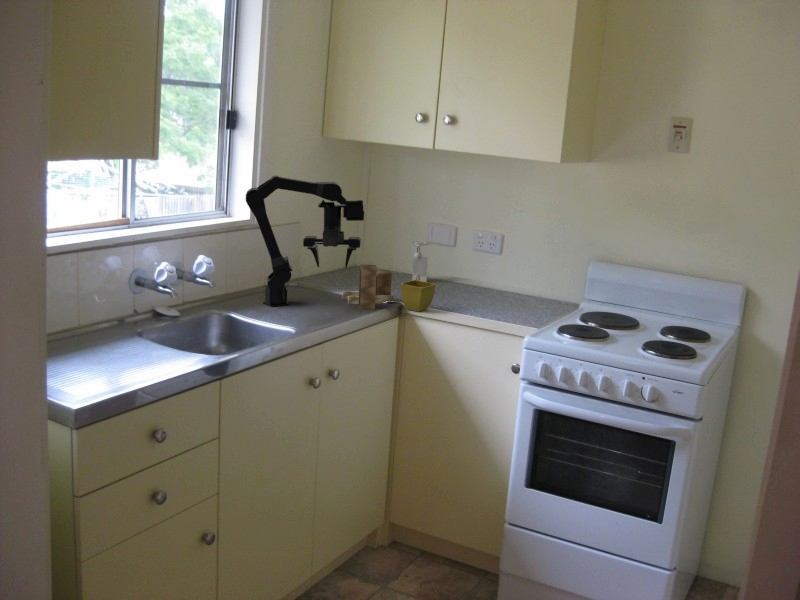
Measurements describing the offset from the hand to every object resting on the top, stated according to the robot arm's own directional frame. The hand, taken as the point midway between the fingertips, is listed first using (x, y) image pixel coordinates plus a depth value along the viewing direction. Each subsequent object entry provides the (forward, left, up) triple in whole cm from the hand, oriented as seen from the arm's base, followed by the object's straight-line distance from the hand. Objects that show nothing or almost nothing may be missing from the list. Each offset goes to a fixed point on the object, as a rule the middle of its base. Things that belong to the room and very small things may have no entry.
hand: (332, 267), depth 297 cm
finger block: (+9, -8, -13) cm, 18 cm away
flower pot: (+22, -19, -13) cm, 32 cm away
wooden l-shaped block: (+14, 0, -13) cm, 19 cm away
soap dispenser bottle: (+52, +16, -13) cm, 56 cm away
